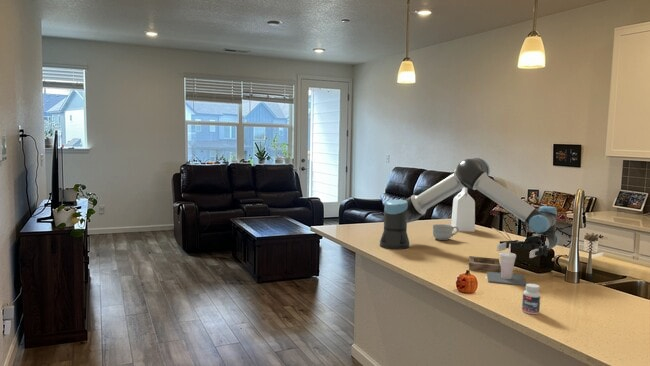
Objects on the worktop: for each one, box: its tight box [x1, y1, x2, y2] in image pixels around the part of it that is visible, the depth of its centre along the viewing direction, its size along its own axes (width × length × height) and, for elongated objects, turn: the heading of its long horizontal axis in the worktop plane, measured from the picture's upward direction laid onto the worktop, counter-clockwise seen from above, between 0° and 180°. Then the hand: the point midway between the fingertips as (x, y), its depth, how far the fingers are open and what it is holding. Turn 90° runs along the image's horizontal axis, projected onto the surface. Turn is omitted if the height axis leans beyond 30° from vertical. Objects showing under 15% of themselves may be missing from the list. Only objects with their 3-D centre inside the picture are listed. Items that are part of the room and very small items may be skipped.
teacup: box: [432, 223, 460, 241], centre depth 263 cm, size 14×11×8 cm
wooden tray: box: [468, 255, 501, 273], centre depth 208 cm, size 12×12×3 cm
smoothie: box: [498, 244, 517, 279], centre depth 190 cm, size 6×6×14 cm
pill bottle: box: [521, 283, 541, 315], centre depth 155 cm, size 5×5×9 cm
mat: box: [486, 271, 527, 287], centre depth 191 cm, size 14×14×1 cm
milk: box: [450, 188, 476, 232], centre depth 293 cm, size 12×12×26 cm
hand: (513, 251), depth 193 cm, fingers open, 13 cm apart
